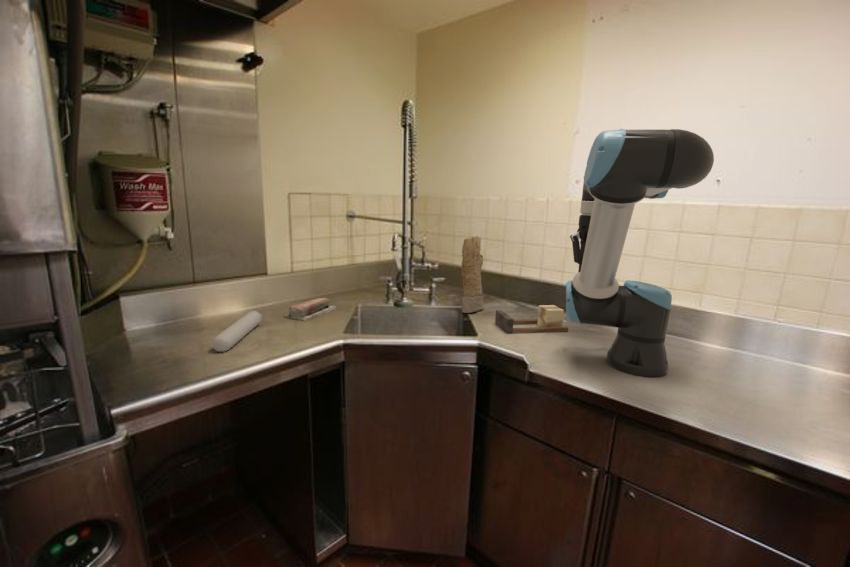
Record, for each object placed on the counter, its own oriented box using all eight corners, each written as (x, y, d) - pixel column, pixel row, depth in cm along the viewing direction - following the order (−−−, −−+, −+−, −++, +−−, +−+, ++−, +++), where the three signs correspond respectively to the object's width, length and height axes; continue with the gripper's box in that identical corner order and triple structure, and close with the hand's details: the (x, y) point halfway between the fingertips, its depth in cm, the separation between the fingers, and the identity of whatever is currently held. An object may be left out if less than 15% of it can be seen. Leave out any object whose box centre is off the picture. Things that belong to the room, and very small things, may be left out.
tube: (230, 341, 108) (264, 313, 132) (211, 334, 107) (248, 308, 131) (225, 358, 109) (259, 328, 133) (206, 351, 108) (243, 322, 132)
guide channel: (568, 335, 134) (570, 318, 133) (507, 337, 130) (508, 320, 129) (550, 324, 146) (552, 308, 145) (494, 326, 141) (495, 309, 140)
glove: (485, 315, 154) (491, 238, 148) (458, 313, 155) (463, 237, 148) (482, 306, 168) (487, 235, 161) (457, 304, 168) (461, 233, 162)
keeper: (561, 329, 137) (564, 310, 135) (545, 330, 135) (547, 310, 134) (552, 324, 143) (554, 305, 141) (537, 324, 141) (539, 305, 140)
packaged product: (305, 309, 137) (283, 305, 141) (306, 322, 138) (283, 318, 142) (336, 298, 154) (315, 294, 157) (336, 310, 155) (315, 306, 158)
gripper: (602, 214, 138) (593, 281, 143) (567, 213, 135) (560, 281, 140) (616, 215, 131) (606, 285, 136) (580, 214, 128) (571, 286, 133)
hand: (582, 283), depth 138 cm, fingers closed
